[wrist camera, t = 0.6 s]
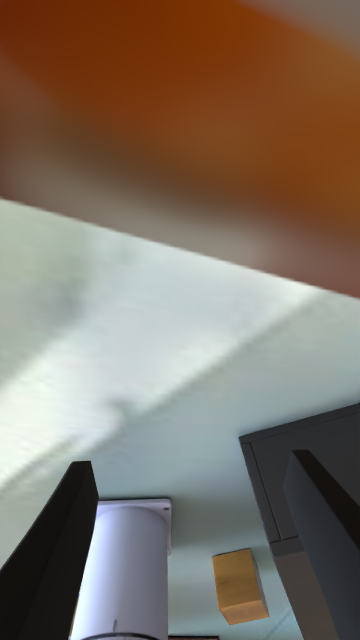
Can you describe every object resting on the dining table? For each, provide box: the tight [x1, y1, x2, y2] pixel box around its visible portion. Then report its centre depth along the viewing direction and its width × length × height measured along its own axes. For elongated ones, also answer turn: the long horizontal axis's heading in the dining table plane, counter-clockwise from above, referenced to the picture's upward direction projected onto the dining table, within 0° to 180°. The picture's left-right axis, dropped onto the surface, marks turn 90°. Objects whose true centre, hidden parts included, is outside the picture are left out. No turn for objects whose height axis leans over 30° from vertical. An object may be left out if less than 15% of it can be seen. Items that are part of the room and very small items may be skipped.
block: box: [212, 548, 269, 625], centre depth 31 cm, size 4×4×4 cm
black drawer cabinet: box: [239, 404, 360, 640], centre depth 23 cm, size 15×13×9 cm
